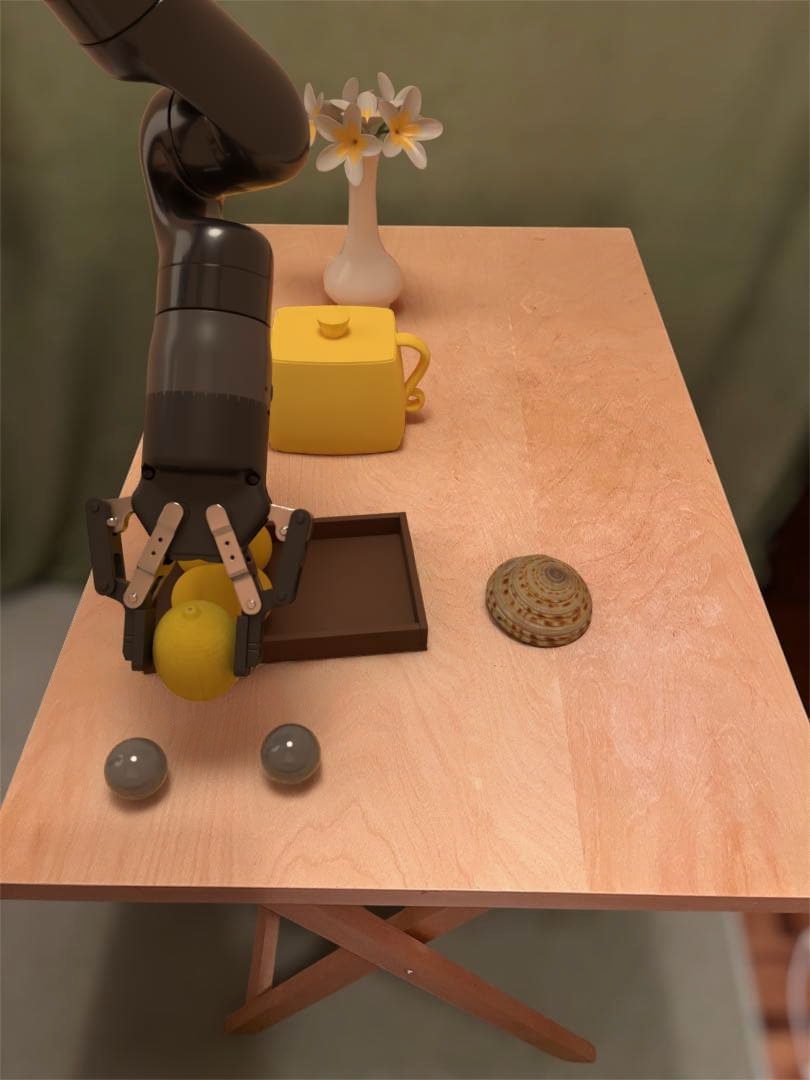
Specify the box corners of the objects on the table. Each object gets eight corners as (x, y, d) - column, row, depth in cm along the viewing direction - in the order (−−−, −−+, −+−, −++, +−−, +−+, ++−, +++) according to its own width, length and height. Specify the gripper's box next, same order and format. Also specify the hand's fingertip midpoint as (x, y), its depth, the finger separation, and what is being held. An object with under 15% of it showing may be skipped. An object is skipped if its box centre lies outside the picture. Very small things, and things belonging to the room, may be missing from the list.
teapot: (219, 458, 86) (203, 349, 78) (233, 384, 95) (220, 280, 87) (430, 458, 87) (436, 350, 79) (424, 385, 96) (429, 282, 88)
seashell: (540, 532, 76) (606, 557, 70) (548, 591, 79) (613, 621, 72) (460, 568, 73) (522, 598, 66) (472, 629, 75) (533, 664, 69)
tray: (143, 674, 67) (137, 651, 66) (155, 551, 77) (150, 528, 75) (427, 650, 70) (428, 628, 68) (404, 533, 79) (405, 511, 77)
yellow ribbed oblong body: (175, 651, 68) (164, 604, 65) (178, 600, 72) (168, 553, 69) (277, 642, 69) (271, 595, 66) (275, 593, 73) (270, 546, 69)
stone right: (263, 799, 60) (257, 765, 57) (262, 748, 63) (257, 713, 60) (323, 793, 61) (321, 759, 58) (320, 742, 63) (317, 708, 61)
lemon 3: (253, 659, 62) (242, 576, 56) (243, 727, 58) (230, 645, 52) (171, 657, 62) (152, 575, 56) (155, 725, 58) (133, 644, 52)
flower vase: (297, 273, 113) (283, 53, 96) (443, 291, 111) (456, 68, 94) (265, 325, 104) (243, 92, 87) (423, 346, 102) (433, 110, 85)
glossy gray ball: (107, 815, 59) (94, 781, 56) (113, 762, 62) (101, 727, 59) (170, 808, 60) (160, 775, 57) (173, 756, 62) (164, 722, 60)
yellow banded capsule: (178, 597, 72) (168, 550, 69) (181, 552, 76) (172, 505, 72) (275, 590, 73) (270, 543, 70) (273, 545, 77) (268, 499, 73)
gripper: (69, 379, 52) (50, 674, 52) (319, 392, 52) (302, 688, 52) (112, 402, 60) (96, 660, 59) (331, 414, 60) (316, 672, 59)
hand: (192, 671), depth 56 cm, fingers closed on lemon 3, 5 cm apart
